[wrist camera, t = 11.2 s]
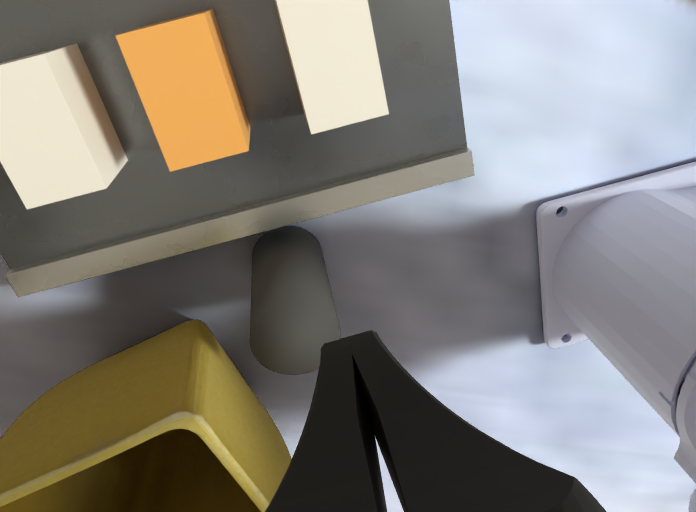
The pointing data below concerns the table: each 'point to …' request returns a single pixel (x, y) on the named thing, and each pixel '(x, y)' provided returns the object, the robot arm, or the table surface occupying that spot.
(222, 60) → the block
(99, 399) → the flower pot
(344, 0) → the block
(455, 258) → the table surface
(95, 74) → the panel
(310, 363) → the cylinder
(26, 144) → the block
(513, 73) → the table surface
